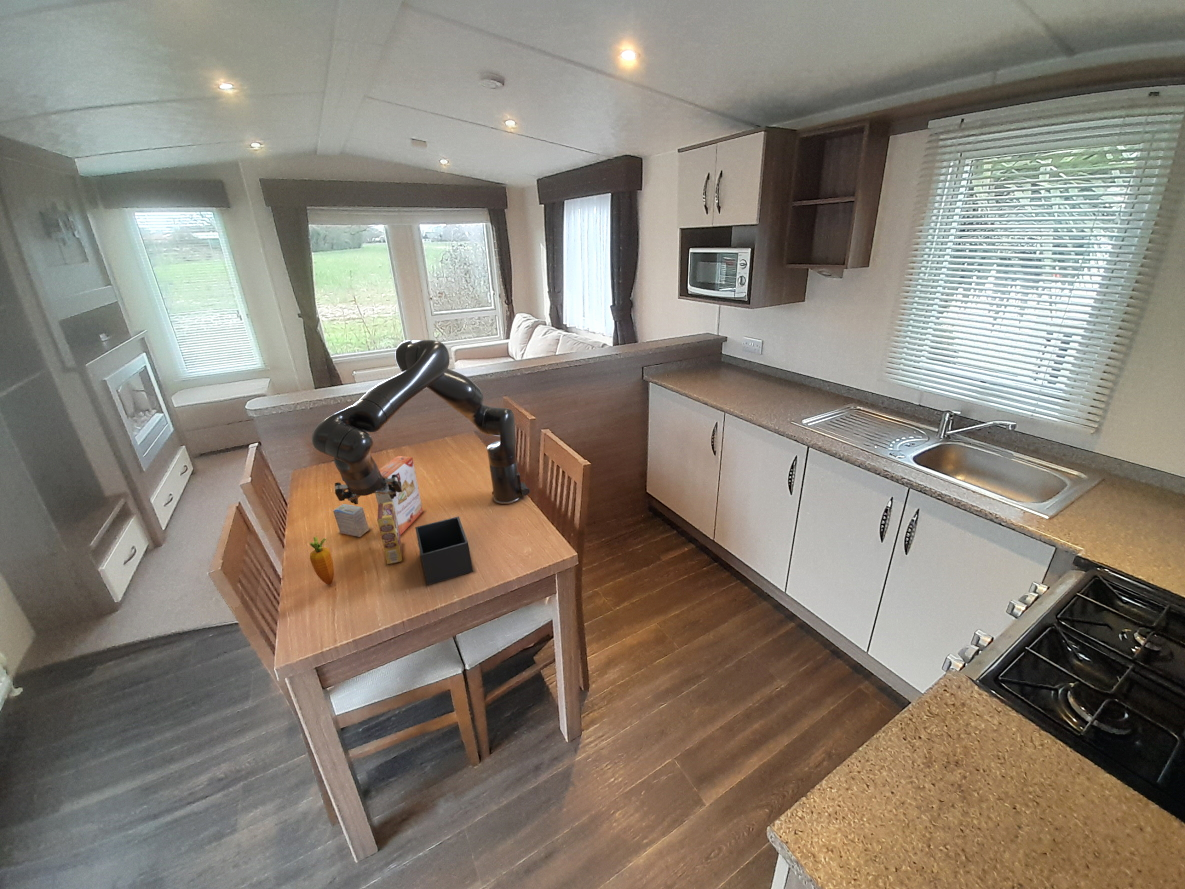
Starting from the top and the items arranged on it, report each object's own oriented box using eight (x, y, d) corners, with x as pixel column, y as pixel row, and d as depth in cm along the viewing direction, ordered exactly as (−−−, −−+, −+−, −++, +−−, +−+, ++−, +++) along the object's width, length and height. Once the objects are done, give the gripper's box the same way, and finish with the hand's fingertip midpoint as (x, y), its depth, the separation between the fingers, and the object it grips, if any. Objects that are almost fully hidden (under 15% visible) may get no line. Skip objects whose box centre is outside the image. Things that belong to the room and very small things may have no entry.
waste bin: (463, 543, 143) (458, 516, 139) (473, 571, 131) (468, 542, 127) (421, 555, 139) (415, 527, 135) (427, 585, 127) (420, 555, 123)
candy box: (403, 561, 136) (392, 516, 130) (387, 565, 135) (375, 520, 129) (403, 543, 144) (392, 500, 137) (388, 547, 143) (376, 503, 136)
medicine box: (370, 529, 151) (363, 506, 147) (359, 538, 147) (352, 514, 144) (350, 525, 154) (343, 502, 150) (339, 533, 150) (332, 510, 146)
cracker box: (401, 536, 147) (387, 477, 139) (384, 534, 149) (369, 475, 140) (424, 511, 160) (413, 456, 151) (408, 510, 161) (395, 454, 152)
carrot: (324, 579, 130) (309, 534, 124) (343, 577, 131) (328, 532, 124) (316, 591, 126) (300, 545, 120) (336, 590, 126) (320, 544, 120)
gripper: (393, 454, 111) (402, 480, 125) (325, 463, 107) (343, 488, 121) (396, 484, 108) (405, 507, 122) (326, 494, 104) (344, 516, 118)
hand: (374, 498), depth 122 cm, fingers open, 8 cm apart
